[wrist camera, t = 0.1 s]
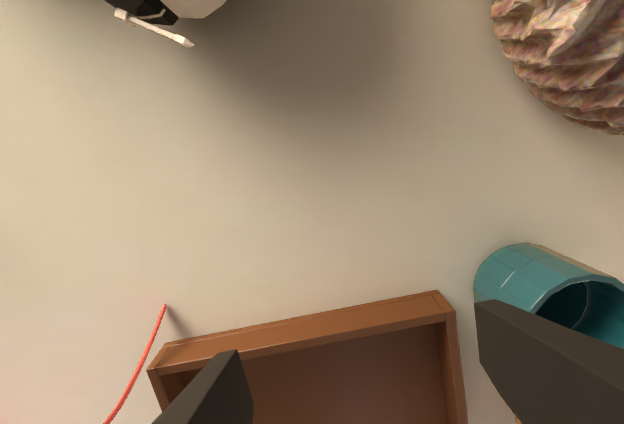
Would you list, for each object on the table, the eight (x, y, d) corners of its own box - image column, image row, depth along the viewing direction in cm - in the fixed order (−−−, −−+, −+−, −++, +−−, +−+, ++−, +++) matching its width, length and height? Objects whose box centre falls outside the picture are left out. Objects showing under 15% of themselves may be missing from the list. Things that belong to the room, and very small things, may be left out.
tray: (437, 289, 20) (455, 309, 17) (457, 450, 23) (476, 487, 20) (165, 342, 20) (145, 370, 18) (218, 492, 23) (208, 533, 21)
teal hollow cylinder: (559, 313, 20) (638, 367, 15) (474, 329, 20) (526, 388, 16) (556, 233, 19) (642, 264, 14) (466, 250, 19) (520, 287, 14)
